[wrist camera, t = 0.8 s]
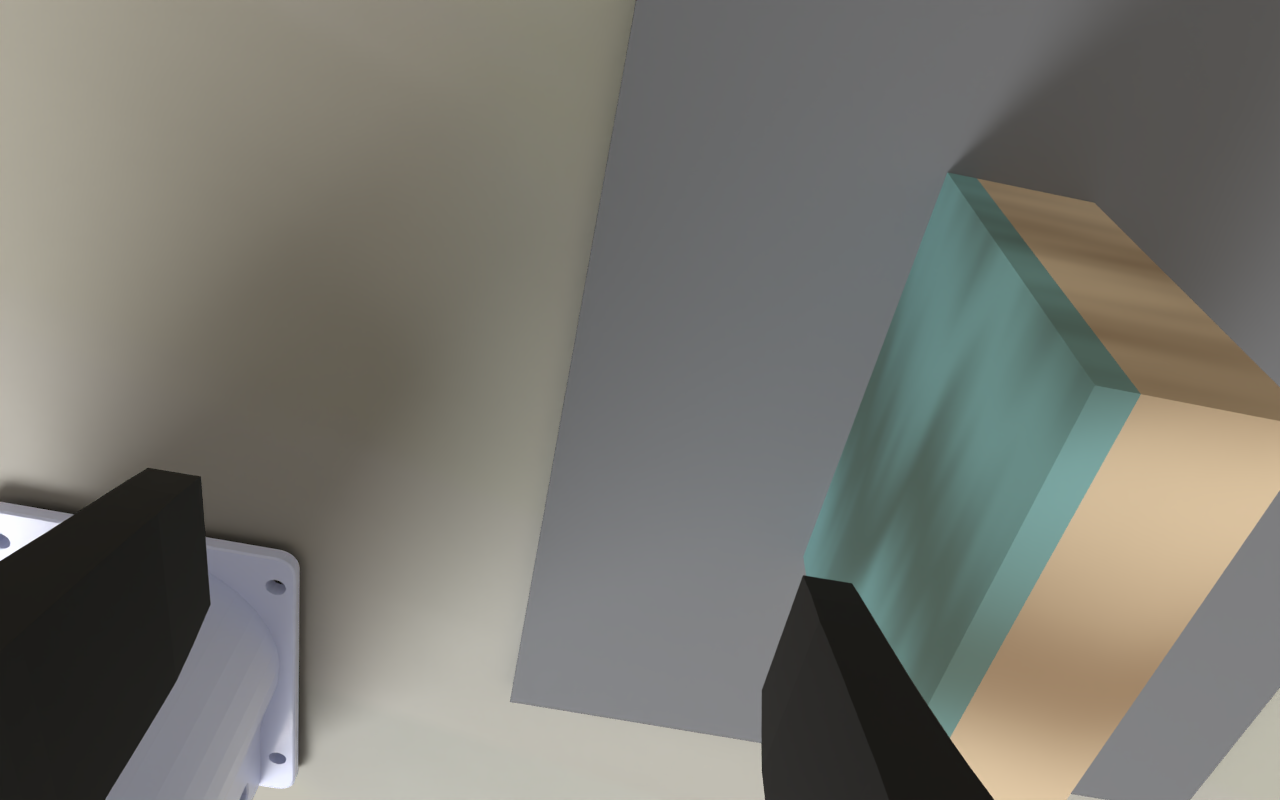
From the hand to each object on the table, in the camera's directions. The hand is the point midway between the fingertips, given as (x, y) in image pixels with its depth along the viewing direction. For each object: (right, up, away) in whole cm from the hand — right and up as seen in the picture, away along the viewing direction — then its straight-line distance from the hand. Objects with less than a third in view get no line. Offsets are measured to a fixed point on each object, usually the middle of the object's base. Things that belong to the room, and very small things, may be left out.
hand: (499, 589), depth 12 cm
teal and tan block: (+8, +2, +10) cm, 13 cm away
